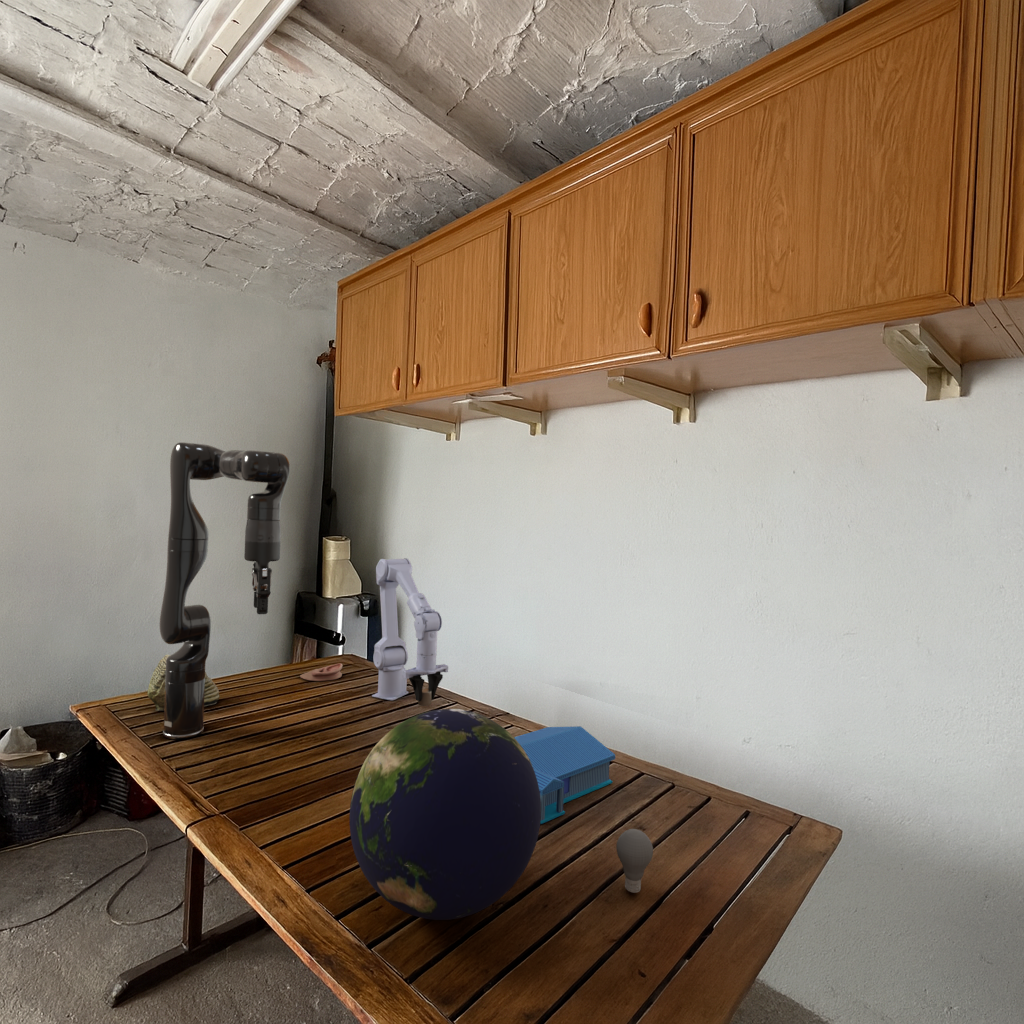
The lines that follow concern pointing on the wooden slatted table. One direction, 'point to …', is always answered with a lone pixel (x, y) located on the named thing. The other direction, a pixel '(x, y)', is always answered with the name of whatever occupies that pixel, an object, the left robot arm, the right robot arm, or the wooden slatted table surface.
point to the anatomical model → (324, 673)
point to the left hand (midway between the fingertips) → (260, 610)
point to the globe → (445, 814)
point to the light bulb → (634, 857)
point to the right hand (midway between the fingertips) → (424, 699)
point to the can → (426, 697)
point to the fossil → (158, 687)
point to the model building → (565, 765)
